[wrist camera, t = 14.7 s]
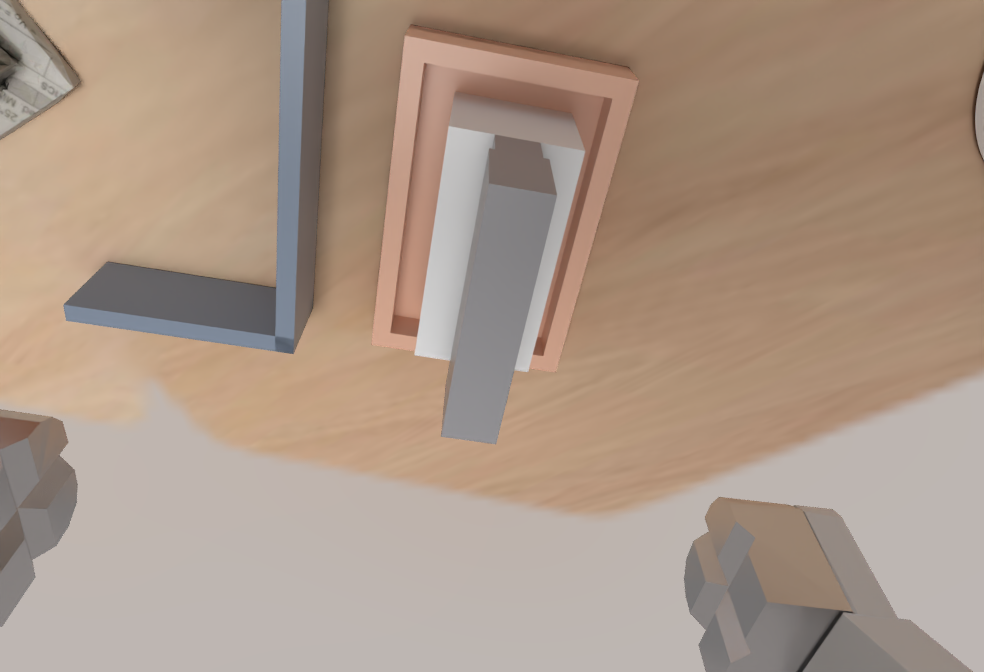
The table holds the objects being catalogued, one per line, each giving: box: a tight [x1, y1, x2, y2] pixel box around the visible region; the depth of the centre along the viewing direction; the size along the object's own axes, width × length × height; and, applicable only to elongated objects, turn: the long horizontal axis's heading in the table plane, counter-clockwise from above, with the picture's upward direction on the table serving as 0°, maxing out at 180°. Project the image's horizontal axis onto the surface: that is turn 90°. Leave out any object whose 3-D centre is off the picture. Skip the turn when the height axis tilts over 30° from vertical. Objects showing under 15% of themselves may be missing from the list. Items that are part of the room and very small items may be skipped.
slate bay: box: [64, 0, 329, 354], centre depth 35 cm, size 12×19×5 cm, turn 170°
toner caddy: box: [415, 92, 585, 444], centre depth 33 cm, size 6×12×12 cm, turn 170°
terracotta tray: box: [371, 25, 639, 372], centre depth 38 cm, size 11×17×3 cm, turn 170°
